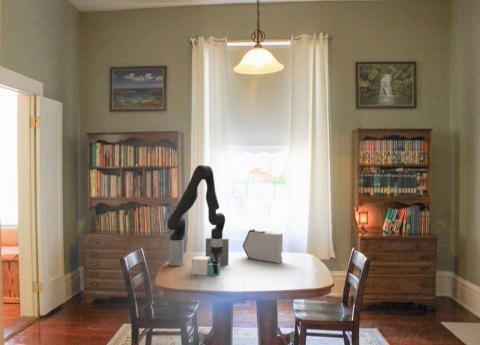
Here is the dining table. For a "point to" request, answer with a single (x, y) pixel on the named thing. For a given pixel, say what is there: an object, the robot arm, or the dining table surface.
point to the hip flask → (223, 255)
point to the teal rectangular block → (212, 269)
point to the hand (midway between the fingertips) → (216, 272)
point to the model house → (263, 246)
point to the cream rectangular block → (200, 265)
